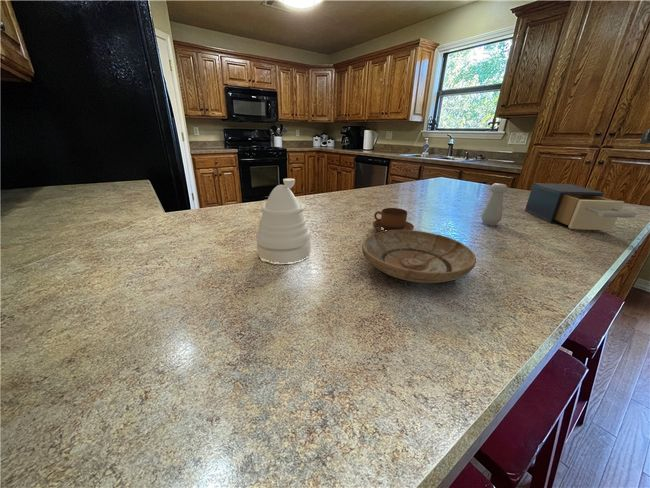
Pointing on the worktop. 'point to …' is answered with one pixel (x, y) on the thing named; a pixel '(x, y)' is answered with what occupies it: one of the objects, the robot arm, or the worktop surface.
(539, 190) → the cabinet
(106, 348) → the worktop surface
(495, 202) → the salt shaker
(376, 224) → the cup and saucer
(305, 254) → the honey pot
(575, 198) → the drawer
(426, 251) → the ceramic bowl
